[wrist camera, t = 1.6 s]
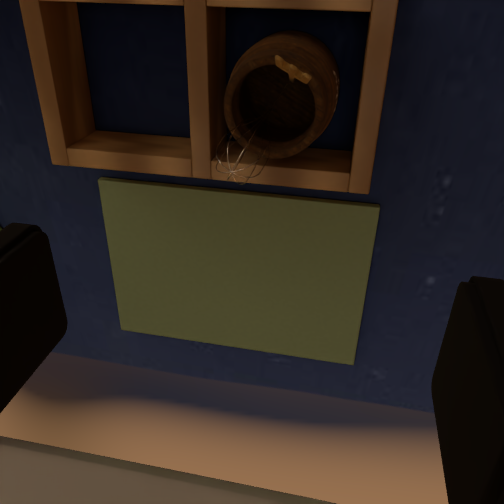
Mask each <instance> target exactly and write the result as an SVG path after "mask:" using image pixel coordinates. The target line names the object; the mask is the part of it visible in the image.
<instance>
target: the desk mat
mask: <svg viewBox="0 0 504 504" xmlns="http://www.w3.org/2000/svg"><path fill="white" fill-rule="evenodd" d="M98 184H99V191H100V197H101V203H102V210H103V216H104V222H105V229H106V235H107V242H108V248H109V254H110V261H111V267H112V273H113V280H114V286H115V293H116V299H117V305H118V312H119V318H120V324H121V330H127V331H133V332H140V333H146V334H153V335H159V336H166V337H173V338H179V339H186V340H192V341H199V342H205V343H212V344H218V345H225V346H231V347H238V348H244V349H251V350H257V351H264V352H270V353H277V354H284V355H290V356H297V357H303V358H310V359H316V360H323V361H329V362H336V363H342V364H349V365H354V360H355V354H356V348H357V342H358V336H359V330H360V324H361V318H362V312H363V306H364V300H365V294H366V288H367V283H368V277H369V271H370V265H371V259H372V253H373V247H374V241H375V235H376V229H377V223H378V217H379V211H380V205H379V204H370V203H360V202H350V201H340V200H330V199H320V198H309V197H299V196H289V195H279V194H269V193H258V192H248V191H238V190H228V189H218V188H208V187H197V186H187V185H177V184H167V183H157V182H147V181H136V180H126V179H116V178H106V177H101V178H100V179H98Z"/></svg>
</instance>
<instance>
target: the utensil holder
mask: <svg viewBox="0 0 504 504" xmlns="http://www.w3.org/2000/svg"><path fill="white" fill-rule="evenodd" d="M339 89H340V76H339V70H338V66H337V63H336V60H335V58H334V56H333V55H332V53H331V51H330V50H329V49H328V48H327V46H326V45H325V44H324V43H323V42H321V41H320V40H319V39H317V38H316V37H314V36H312V35H310V34H308V33H305V32H301V31H295V30H287V31H280V32H277V33H274V34H271V35H269V36H267V37H265V38H263V39H262V40H260V41H259V42H257V43H256V44H254V45H253V46H252V47H251V48H249V49H248V50H247V51H246V52H245V53H244V54H243V55H242V56H241V58H240V59H239V60H238V62H237V63H236V65H235V67H234V69H233V71H232V73H231V76H230V79H229V81H228V84H227V87H226V90H225V95H224V103H223V107H224V116H225V120H226V123H227V126H228V128H229V130H230V131H229V132H231V134H232V135H233V137H234V138H235V139H236V141H237V142H238V143H239V144H240V145H241V146H242V147H244V149H243V151H244V150H245V149H246V150H245V152H246V151H247V150H248V151H249V152H251V153H253V154H255V155H258V158H259V156H260V158H261V157H264V158H268V159H269V158H270V159H280V158H286V157H290V156H293V155H295V154H298V153H299V152H301V151H303V150H304V149H305V148H307V147H308V146H309V145H310V144H311V143H312V142H313V141H314V140H315V139H317V138H318V137H319V136H320V135H321V134H322V133H323V132H324V130H325V129H326V128H327V126H328V124H329V123H330V121H331V119H332V117H333V114H334V111H335V109H336V105H337V101H338V96H339ZM229 132H228V133H229ZM228 133H227V134H228ZM227 134H226V135H227ZM226 135H225V136H226ZM232 135H231V137H232ZM225 136H224V137H225ZM224 137H223V138H222V140H223V139H224ZM231 137H230V139H231ZM230 139H229V141H228V146H229V142H230ZM222 140H221V141H220V143H221V142H222ZM236 141H235V142H236ZM235 142H233V143H232V144H231V145H233V144H234V143H235ZM220 143H219V145H220ZM219 145H218V146H217V148H216V156H217V149H218V147H219ZM231 145H230V146H231ZM228 146H227V149H226V151H227V160H228V165H229V159H228V149H229V147H230V146H229V147H228ZM226 151H225V152H226ZM243 151H242V153H243ZM225 152H224V153H225ZM245 152H244V154H245ZM224 153H223V155H224ZM242 153H241V155H242ZM244 154H243V155H242V157H243V156H244ZM223 155H222V156H223ZM241 155H240V156H239V158H240V157H241ZM222 156H221V158H222ZM242 157H241V159H242ZM221 158H220V159H221ZM239 158H238V160H239ZM258 158H257V160H256V161H255V162H254V163H256V165H257V162H258V160H259V159H260V158H259V159H258ZM217 159H218V156H217ZM220 159H218V162H217V164H216V170H217V165H218V163H219V162H220ZM241 159H240V160H241ZM268 159H267V161H268ZM238 160H237V162H238ZM240 160H239V162H240ZM267 161H266V163H267ZM237 162H236V163H235V165H236V164H237ZM239 162H238V164H239ZM254 163H252V164H251V165H253V164H254ZM266 163H265V165H266ZM220 164H221V165H222V166H223V164H222V163H221V162H220ZM238 164H237V165H238ZM235 165H234V167H235ZM237 165H236V167H237ZM251 165H249V166H251ZM256 165H255V167H256ZM265 165H264V166H263V168H264V167H265ZM249 166H247V167H249ZM223 167H224V168H225V169H227V168H226V167H225V166H223ZM234 167H233V169H234V170H235V169H236V167H235V168H234ZM247 167H245V168H247ZM255 167H254V169H255ZM229 168H230V165H229ZM245 168H242V169H239V170H236V171H240V170H243V169H245ZM263 168H262V170H263ZM233 169H232V171H231V168H230V170H228V169H227V170H228V171H230V172H220V171H218V170H217V171H218V172H220V173H230V174H229V176H228V178H227V180H226V181H228V180H229V178H230V177H231V175H232V176H233V174H235V173H233V172H236V171H234V170H233ZM254 169H253V171H254ZM262 170H261V171H262ZM253 171H252V173H253ZM261 171H260V172H259V174H260V173H261ZM252 173H251V174H250V176H251V175H252ZM259 174H257V175H256V176H258V175H259ZM235 175H237V174H235ZM237 176H240V175H237ZM250 176H249V177H244V176H240V177H244V178H248V179H249V178H253V177H256V176H253V177H250ZM233 178H234V176H233ZM234 179H235V178H234ZM248 179H247V181H248ZM235 181H236V179H235ZM247 181H246V182H247ZM236 182H237V181H236ZM246 182H245V183H246ZM237 183H238V184H241V183H239V182H237ZM245 183H243V184H245ZM243 184H241V185H243Z"/></svg>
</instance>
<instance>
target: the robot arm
mask: <svg viewBox="0 0 504 504" xmlns="http://www.w3.org/2000/svg"><path fill="white" fill-rule="evenodd" d="M66 330H67V317H66V313H65V309H64V304H63V300H62V296H61V291H60V287H59V283H58V278H57V274H56V270H55V265H54V261H53V257H52V252H51V248H50V244H49V239H48V236H47V235H46V233H44V232H42V230H41V229H40V227H38V226H37V225H29V224H21V223H11V224H9V225H8V226H6V227H5V228H3V229H2V230H1V231H0V413H1V412H2V411H3V409H4V408H5V407H6V406H7V404H8V403H9V402H10V401H11V399H12V398H13V397H14V396H15V395H16V394H17V392H18V391H19V390H20V389H21V387H22V386H23V385H24V384H25V382H26V381H27V380H28V379H29V378H30V376H31V375H32V374H33V372H35V370H36V369H37V368H38V366H39V365H40V364H41V363H42V362H43V360H44V359H45V358H46V357H47V356H48V355H49V353H50V352H51V351H52V350H53V348H54V347H55V346H56V345H57V344H58V342H59V341H60V340H61V339H62V338H63V336H64V335H65V333H66ZM432 399H433V405H434V412H435V418H436V425H437V430H438V438H439V444H440V450H441V457H442V464H443V470H444V477H445V483H446V489H447V496H448V502H449V504H504V281H503V280H501V279H494V278H486V277H477V276H472V277H471V278H470V280H469V282H460V284H459V286H458V289H457V293H456V296H455V300H454V303H453V307H452V310H451V314H450V317H449V321H448V324H447V328H446V331H445V335H444V338H443V342H442V346H441V349H440V353H439V356H438V360H437V363H436V367H435V370H434V374H433V378H432ZM0 504H336V503H331V502H327V501H322V500H317V499H313V498H307V497H303V496H297V495H293V494H288V493H283V492H278V491H273V490H268V489H264V488H259V487H254V486H249V485H244V484H239V483H234V482H229V481H224V480H220V479H215V478H210V477H204V476H200V475H195V474H190V473H185V472H180V471H175V470H170V469H165V468H160V467H155V466H150V465H145V464H140V463H135V462H130V461H125V460H120V459H115V458H110V457H105V456H100V455H94V454H90V453H85V452H80V451H75V450H70V449H64V448H59V447H54V446H49V445H44V444H39V443H34V442H29V441H24V440H19V439H13V438H7V437H3V436H0Z"/></svg>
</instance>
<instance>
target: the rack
mask: <svg viewBox="0 0 504 504" xmlns="http://www.w3.org/2000/svg"><path fill="white" fill-rule="evenodd" d="M398 1H399V0H19V3H20V8H21V13H22V18H23V23H24V28H25V32H26V37H27V42H28V47H29V52H30V57H31V62H32V67H33V72H34V76H35V81H36V86H37V91H38V96H39V101H40V106H41V111H42V116H43V120H44V125H45V130H46V135H47V140H48V145H49V150H50V155H51V160H52V164H55V165H66V166H77V167H88V168H98V169H109V170H119V171H130V172H140V173H151V174H161V175H172V176H182V177H193V178H203V179H211V178H212V179H214V180H224V181H226V180H227V178H228V176H229V174H230V173H220V172H230V171H228V170H230V168H231V171H232V169H233V167H234V165H235V163H236V162H237V160H238V158H239V156H240V155H241V153H242V151H243V149H244V147H242V146H241V145H240V144H239V143H238V142H235V143H234V144H233V145H231V144H232V143H233V142H234V141H230V142H229V146H230V145H231V146H230V147H229V146H228V141H227V135H226V134H227V123H226V120H225V116H224V107H223V103H224V95H225V90H226V16H225V7H241V8H270V9H299V10H328V11H358V12H370V15H369V22H368V30H367V38H366V46H365V54H364V62H363V70H362V77H361V85H360V93H359V101H358V109H357V117H356V125H355V132H354V140H353V148H352V151H344V150H332V149H320V148H305V149H304V150H303V151H301V152H299V153H298V154H295V155H293V156H290V157H286V158H280V159H270V158H269V159H268V158H264V157H261V158H260V156H259V158H260V159H259V158H258V155H255V154H253V153H251V152H249V151H248V150H247V151H246V152H245V150H246V149H245V150H244V151H243V153H242V155H243V154H244V152H245V154H244V156H243V157H242V155H241V157H242V159H241V157H240V158H239V160H240V159H241V160H240V162H239V160H238V162H239V164H238V162H237V164H238V165H237V164H236V165H237V167H236V165H235V167H236V169H235V170H234V169H233V170H234V171H236V170H239V169H242V168H245V167H247V166H249V165H251V164H252V163H254V162H255V161H256V160H257V158H258V159H259V160H258V162H257V165H256V163H254V164H253V165H251V166H249V167H247V168H245V169H243V170H240V171H236V172H233V173H235V174H237V175H240V176H244V177H249V176H250V174H251V173H252V171H253V169H254V167H255V165H256V167H255V169H254V171H253V173H252V175H251V176H250V177H253V176H256V175H257V174H259V172H260V171H261V170H262V168H263V166H264V165H265V163H266V161H267V159H268V161H267V163H266V165H265V167H264V168H263V170H262V171H261V173H260V174H259V175H258V176H256V177H253V178H249V179H248V178H244V177H240V176H237V175H235V174H233V176H234V178H235V179H236V181H237V182H246V181H247V179H248V181H247V182H246V183H256V184H266V185H277V186H287V187H298V188H308V189H319V190H329V191H340V192H351V193H361V194H369V191H370V184H371V178H372V171H373V165H374V158H375V151H376V145H377V138H378V132H379V125H380V119H381V112H382V106H383V99H384V93H385V86H386V80H387V73H388V67H389V60H390V53H391V47H392V40H393V34H394V27H395V21H396V14H397V8H398ZM76 2H94V3H123V4H152V5H181V6H183V5H184V12H185V32H186V53H187V73H188V93H189V114H190V134H191V138H184V137H172V136H160V135H147V134H135V133H123V132H110V131H98V130H96V129H95V122H94V116H93V109H92V102H91V96H90V89H89V83H88V76H87V69H86V63H85V56H84V49H83V43H82V36H81V29H80V23H79V16H78V10H77V3H76ZM225 135H226V136H225ZM224 136H225V137H224ZM223 137H224V139H223V140H222V138H223ZM221 140H222V142H221V143H220V141H221ZM219 143H220V145H219ZM218 145H219V147H218V149H217V156H218V159H220V158H221V156H222V155H223V153H224V152H225V151H226V149H227V146H228V147H229V149H228V159H229V165H230V168H229V165H228V160H227V151H226V152H225V153H224V155H223V156H222V158H221V159H220V162H221V163H222V164H223V166H225V167H226V168H227V169H228V170H227V169H225V168H224V167H223V166H222V165H221V164H220V162H219V163H218V165H217V170H218V171H220V172H218V171H217V170H216V164H217V162H218V159H217V156H216V148H217V146H218ZM235 167H234V168H235ZM233 176H232V175H231V177H230V178H229V180H228V181H235V179H234V178H233ZM236 181H235V182H236Z"/></svg>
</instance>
